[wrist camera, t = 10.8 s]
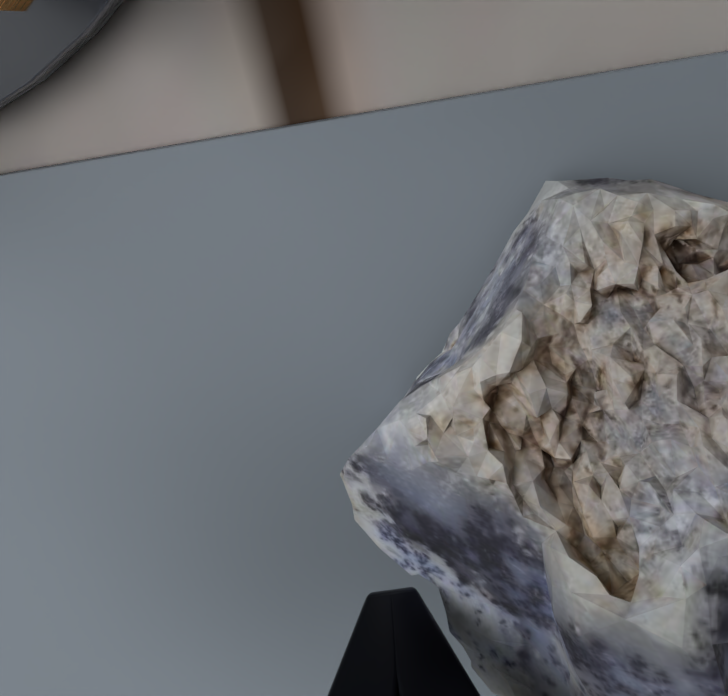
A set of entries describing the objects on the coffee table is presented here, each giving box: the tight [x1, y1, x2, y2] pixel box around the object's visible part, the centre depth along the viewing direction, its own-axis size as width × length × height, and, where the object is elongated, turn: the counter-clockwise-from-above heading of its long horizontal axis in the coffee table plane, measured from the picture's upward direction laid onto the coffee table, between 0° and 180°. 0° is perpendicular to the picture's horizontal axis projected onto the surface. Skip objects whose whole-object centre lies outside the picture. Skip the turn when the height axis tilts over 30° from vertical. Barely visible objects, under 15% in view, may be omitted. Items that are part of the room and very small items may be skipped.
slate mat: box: [0, 51, 728, 696], centre depth 11 cm, size 13×22×1 cm, turn 99°
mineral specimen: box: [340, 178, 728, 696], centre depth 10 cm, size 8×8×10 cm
